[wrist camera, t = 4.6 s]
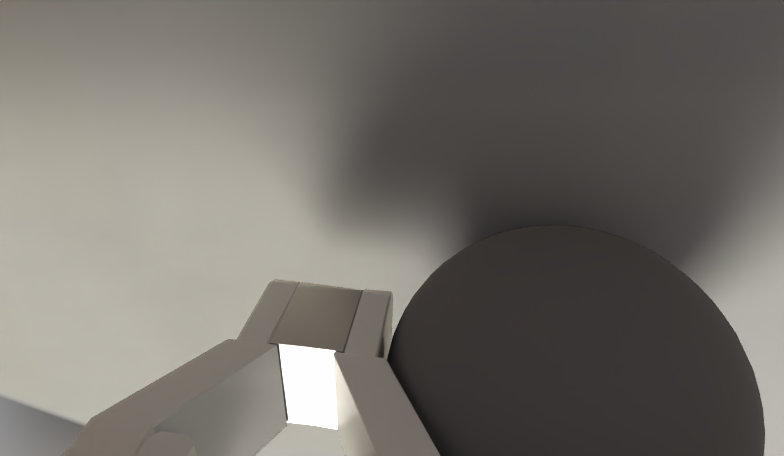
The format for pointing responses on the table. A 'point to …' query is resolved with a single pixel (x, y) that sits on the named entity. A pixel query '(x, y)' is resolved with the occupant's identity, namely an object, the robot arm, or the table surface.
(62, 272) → the table surface
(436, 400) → the grey sphere
